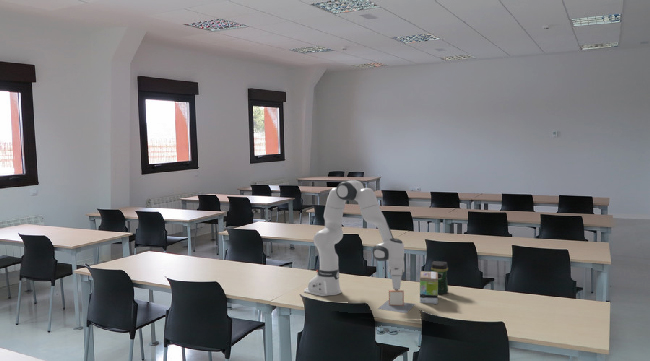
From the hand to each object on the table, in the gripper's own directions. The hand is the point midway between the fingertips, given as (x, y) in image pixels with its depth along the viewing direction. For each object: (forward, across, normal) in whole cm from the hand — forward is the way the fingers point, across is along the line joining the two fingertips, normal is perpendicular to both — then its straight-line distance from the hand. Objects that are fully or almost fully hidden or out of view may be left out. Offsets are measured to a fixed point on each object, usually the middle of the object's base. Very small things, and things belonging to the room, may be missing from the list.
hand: (396, 292), depth 287 cm
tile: (+6, +3, 0) cm, 7 cm away
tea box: (+7, -9, +18) cm, 21 cm away
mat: (+6, +6, 0) cm, 9 cm away
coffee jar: (+7, -23, +26) cm, 35 cm away
